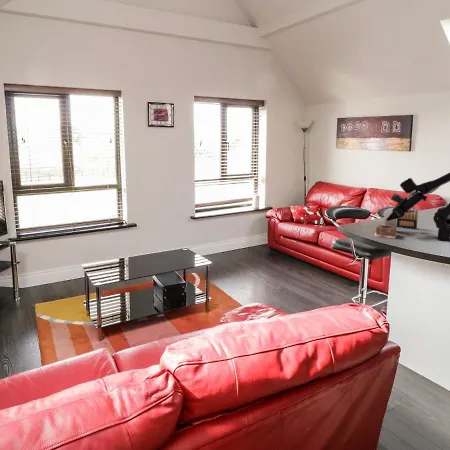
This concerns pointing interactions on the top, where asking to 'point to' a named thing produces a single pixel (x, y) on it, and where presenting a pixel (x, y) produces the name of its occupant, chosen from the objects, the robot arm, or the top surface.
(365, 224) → the top surface
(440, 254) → the top surface
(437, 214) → the robot arm
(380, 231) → the socket block
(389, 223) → the metal bar
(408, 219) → the ammunition clip
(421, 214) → the top surface
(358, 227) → the top surface
